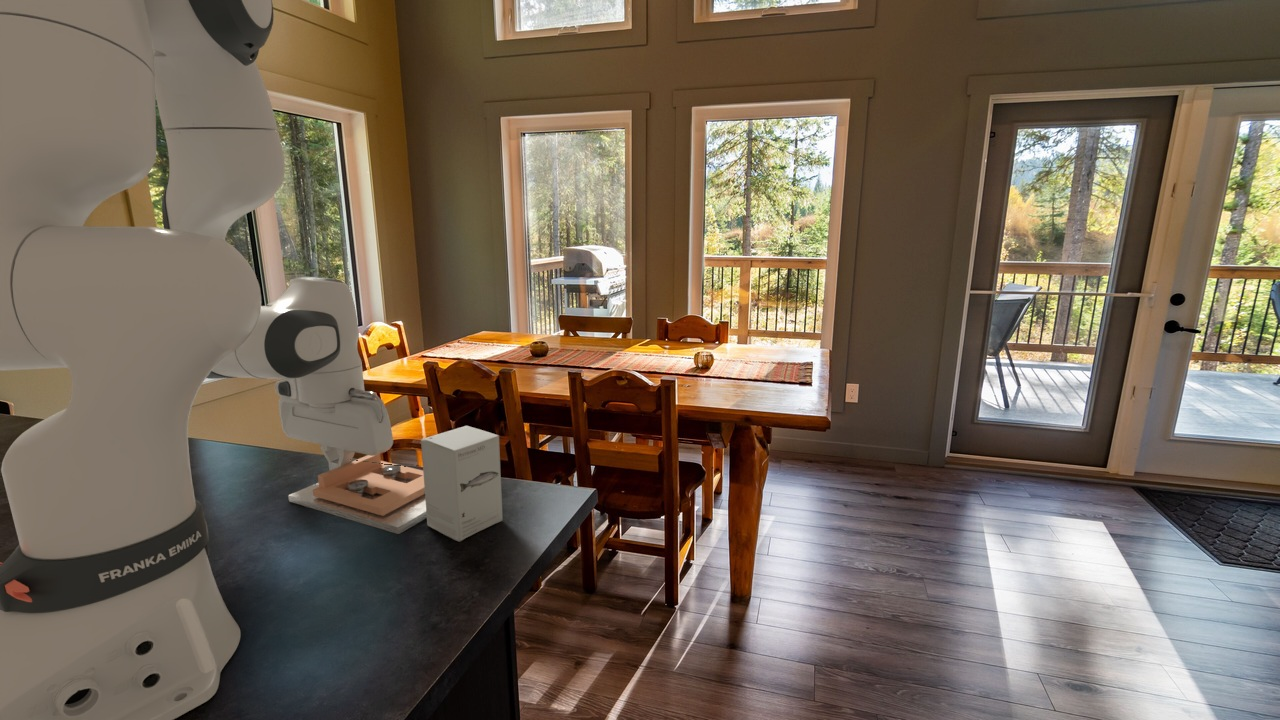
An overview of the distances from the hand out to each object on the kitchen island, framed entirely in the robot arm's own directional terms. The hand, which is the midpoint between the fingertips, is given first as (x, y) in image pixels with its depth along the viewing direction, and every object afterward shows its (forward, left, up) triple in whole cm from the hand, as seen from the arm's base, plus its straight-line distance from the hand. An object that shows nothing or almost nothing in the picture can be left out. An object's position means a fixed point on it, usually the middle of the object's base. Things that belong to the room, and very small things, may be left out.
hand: (340, 471), depth 88 cm
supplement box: (-1, -25, -3) cm, 25 cm away
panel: (0, -8, -1) cm, 9 cm away
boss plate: (0, -8, -3) cm, 9 cm away
